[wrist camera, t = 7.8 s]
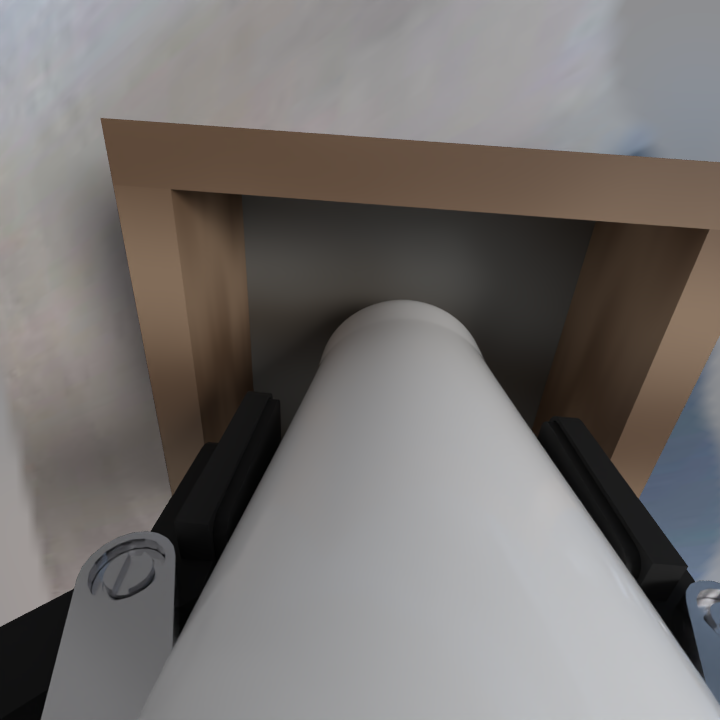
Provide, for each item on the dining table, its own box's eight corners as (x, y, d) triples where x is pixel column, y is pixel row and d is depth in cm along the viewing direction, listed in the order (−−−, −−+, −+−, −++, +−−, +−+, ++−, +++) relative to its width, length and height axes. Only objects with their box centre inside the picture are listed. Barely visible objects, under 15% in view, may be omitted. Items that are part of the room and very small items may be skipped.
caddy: (531, 488, 19) (583, 608, 14) (237, 463, 19) (186, 572, 14) (641, 160, 13) (802, 168, 8) (207, 129, 13) (100, 117, 8)
